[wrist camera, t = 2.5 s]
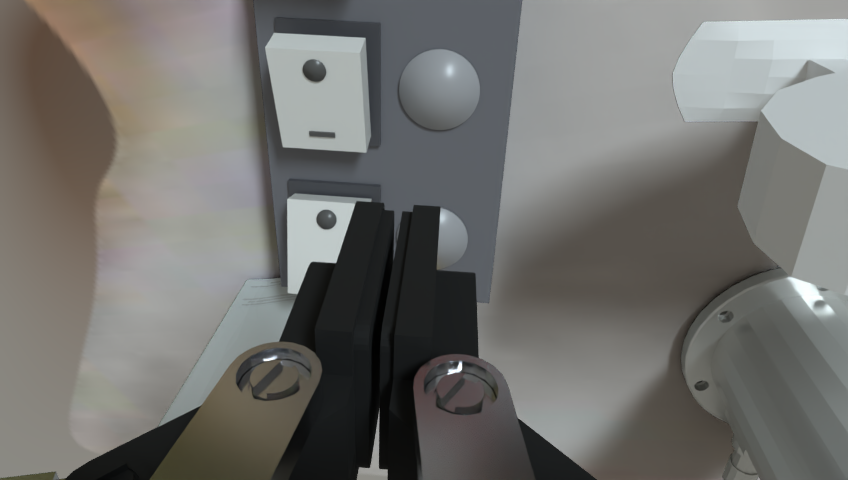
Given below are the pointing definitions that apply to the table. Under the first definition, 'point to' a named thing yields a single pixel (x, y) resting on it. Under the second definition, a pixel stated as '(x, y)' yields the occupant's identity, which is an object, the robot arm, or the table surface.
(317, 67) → the rocker
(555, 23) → the table surface
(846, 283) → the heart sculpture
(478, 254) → the rocker switch panel
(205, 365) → the skincare box
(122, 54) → the table surface
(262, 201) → the table surface
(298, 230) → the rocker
